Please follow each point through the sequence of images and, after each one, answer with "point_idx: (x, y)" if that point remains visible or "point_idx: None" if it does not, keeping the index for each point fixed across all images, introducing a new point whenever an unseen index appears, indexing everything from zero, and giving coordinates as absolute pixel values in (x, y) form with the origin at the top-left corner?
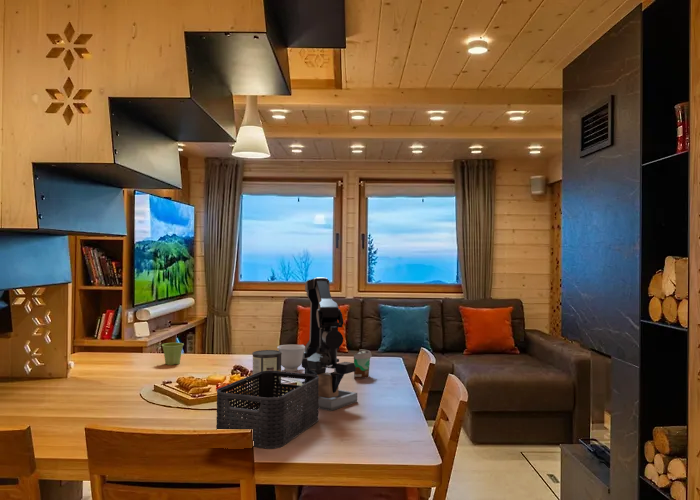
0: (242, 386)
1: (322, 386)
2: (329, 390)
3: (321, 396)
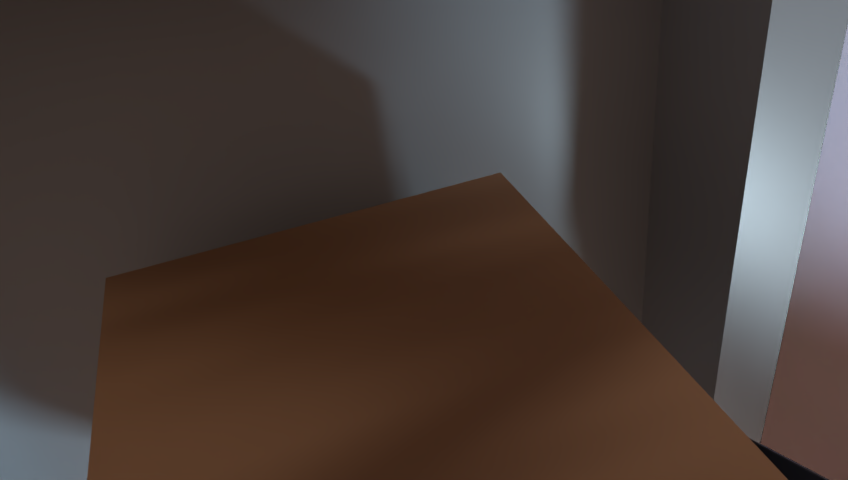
0: None
1: (418, 408)
2: (97, 448)
3: (367, 215)
